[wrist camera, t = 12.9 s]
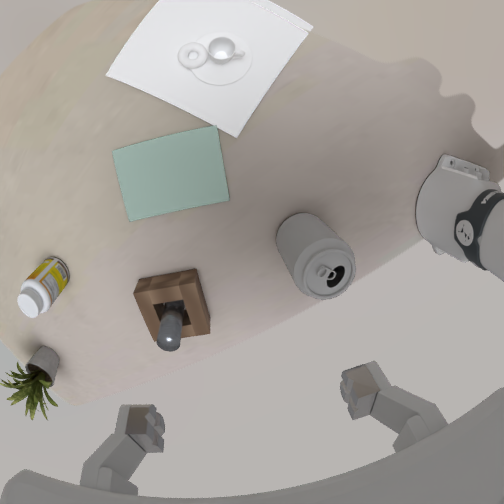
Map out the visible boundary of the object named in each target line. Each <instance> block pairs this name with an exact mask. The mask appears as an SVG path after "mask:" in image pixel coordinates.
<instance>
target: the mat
mask: <svg viewBox="0 0 504 504" xmlns="http://www.w3.org/2000/svg"><path fill="white" fill-rule="evenodd" d="M215 126H216V127H215ZM112 154H113V158H114V163H115V167H116V172H117V176H118V180H119V184H120V189H121V192H122V196H123V200H124V204H125V208H126V211H127V215H128V218H129V222H131V221H135V220H139V219H143V218H148V217H152V216H156V215H161V214H165V213H170V212H175V211H179V210H184V209H189V208H194V207H199V206H204V205H209V204H214V203H219V202H224V201H230V199H229V193H228V187H227V182H226V176H225V170H224V164H223V159H222V153H221V147H220V141H219V135H218V129H217V125H214V126H209V127H204V128H199V129H194V130H189V131H184V132H180V133H176V134H171V135H167V136H163V137H159V138H155V139H151V140H148V141H144V142H140V143H137V144H133V145H130V146H127V147H123V148H120V149H117V150H114V151H112Z"/></svg>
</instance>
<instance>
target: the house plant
mask: <svg viewBox="0 0 504 504" xmlns="http://www.w3.org/2000/svg"><path fill="white" fill-rule="evenodd" d="M58 363H59V357H58V355H57V354H56V353H55V352H54V351H53V350H52V349H50V348H48V347H46V346H42V347H41V348H40V349H39V350H38V351H37V352H36V353H35V355H34V356H33V357H32V358H31V359H30V360H29V361H28V363H27V364H26V366H25V367H26V371H27V372H28V374H25V373H24V372H23V370H22V369H21V368H20V366H19V364H18V362H17V368H18V370H19V372H20V373H21V374H22V375H21V374H17V373H15V372H12V371H11V372H12V374H13V375H9V374H8V373H7V374H8V375H9V376H11V377H14V378H18V379H26V380H24V381H18V380H16V379H14V378H13V379H14V381H15V382H16V383H13V384H12V383H11V382H10V381H9V380H8V381H9V383H7V382H5V381H3V380H2V382H4V383H5V384H7V385H5V384H2V383H0V384H1V385H3V386H5V387H9V388H16V389H19V391H18V392H16V393H14V394H13V395H12V396H11V397H9V398H7V400H14V401H13V403H12V404H11V405H13V404H16V403H17V402H19V401H21V400H23V399H24V398H26V397H27V396H28V395H29V396H28V398H27V402H26V411H25V413H26V415H27V412H28V409H30V417H31V419H32V420H33V418H34V414H35V410H36V407H37V404H38V401H39V402H40V407H41V410H42V412H43V415H44V416H45V418H46V419H47V417H46V414H45V410H44V406H43V404H46V403H43V400H44V399H42V397H43V393H42V387H43V388H44V393H45V395H46V397H47V399H48V401H49V402H50V403H51V404H52V405H54V406H57V407H58V405H57V404H56V403H55V402H54V401H53V400H52V399H51V397H50V396H49V395H48V393H47V391H46V388H48V389H49V387H52V386H53V385H54V381H55V376H56V372H57V368H58ZM30 377H31V378H30ZM28 378H29V379H28ZM18 384H21V385H18ZM46 408H47V407H46ZM47 409H48V408H47Z"/></svg>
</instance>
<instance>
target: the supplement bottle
mask: <svg viewBox="0 0 504 504" xmlns="http://www.w3.org/2000/svg"><path fill="white" fill-rule="evenodd" d="M68 281H69V273H68V270H67V268H66V266H65V264H64V263H63V262H62V261H60V260H59V259H57V258H53V257H51V258H47V259H46V260H45V261H44V262H43V263H42V264H41V265H40V266H39V267H38V268H37V269H36V270H35V271H34V272H33V273H32V274H31V275H30V276H29V277H28V278H27V279H26V280H25V281H24V282H23V284H22V286H21V293H20V295H19V296H18V305H19V307H20V309H21V310H22V312H23V313H24V314H25V315H27V316H28V317H31V318H35V317H37V316H38V314H39V313H45V312H46V311H48V310H49V308H50V307H51V305H52V304H53V303H54V301H55V300H56V298H57V297H58V296H59V294H60V293H61V292H62V290H63V289H64V288H65V286H66V285H67V283H68Z"/></svg>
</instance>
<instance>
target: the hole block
mask: <svg viewBox="0 0 504 504" xmlns="http://www.w3.org/2000/svg"><path fill="white" fill-rule="evenodd" d="M133 294H134V297H135V299H136V302H137V304H138V306H139V309H140V311H141V313H142V316H143V318H144V320H145V323H146V325H147V327H148V329H149V331H150V334H151V336H152V338H153V340H154V341H157V336H158V332H159V327H160V323H161V318H162V314H163V309H164V306H163V303H165V302H171V301H177V300H183V301H184V304H185V307H186V310H184V315H183V323H182V331H181V338H185V337H191V336H198V335H205V334H210V315H209V312H208V309H207V305H206V302H205V298H204V295H203V291H202V288H201V284H200V280H199V277H198V273H197V269H192V270H187V271H181V272H176V273H170V274H165V275H160V276H154V277H149V278H143V279H139V281H138V283H137V286H136V288H135V290H134V293H133Z"/></svg>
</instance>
